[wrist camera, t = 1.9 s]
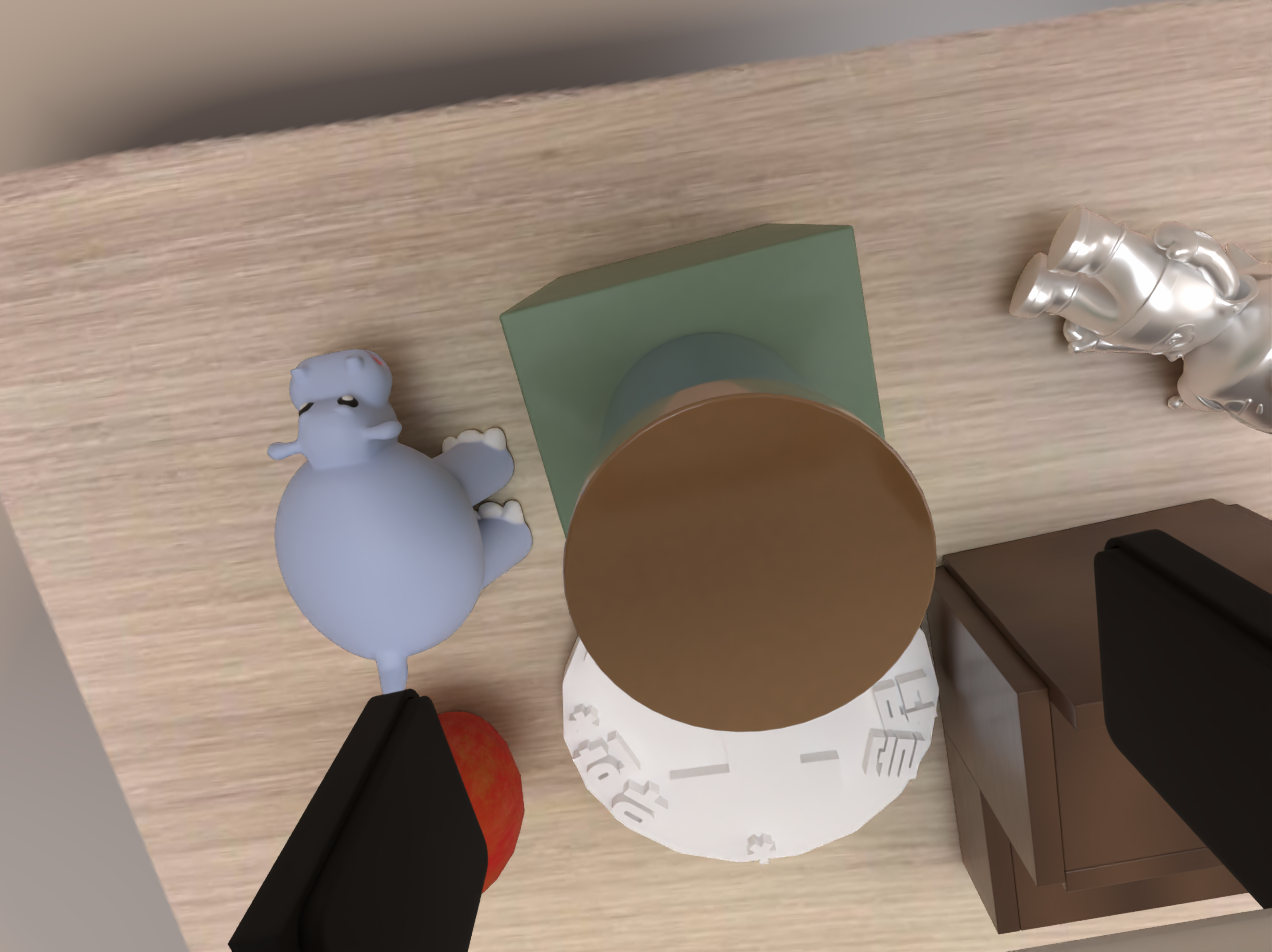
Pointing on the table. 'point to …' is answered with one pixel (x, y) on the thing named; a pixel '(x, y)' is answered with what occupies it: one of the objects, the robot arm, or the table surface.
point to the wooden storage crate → (1063, 726)
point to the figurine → (1162, 307)
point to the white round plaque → (749, 764)
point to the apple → (487, 784)
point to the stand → (688, 329)
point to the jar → (743, 541)
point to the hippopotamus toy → (387, 518)
